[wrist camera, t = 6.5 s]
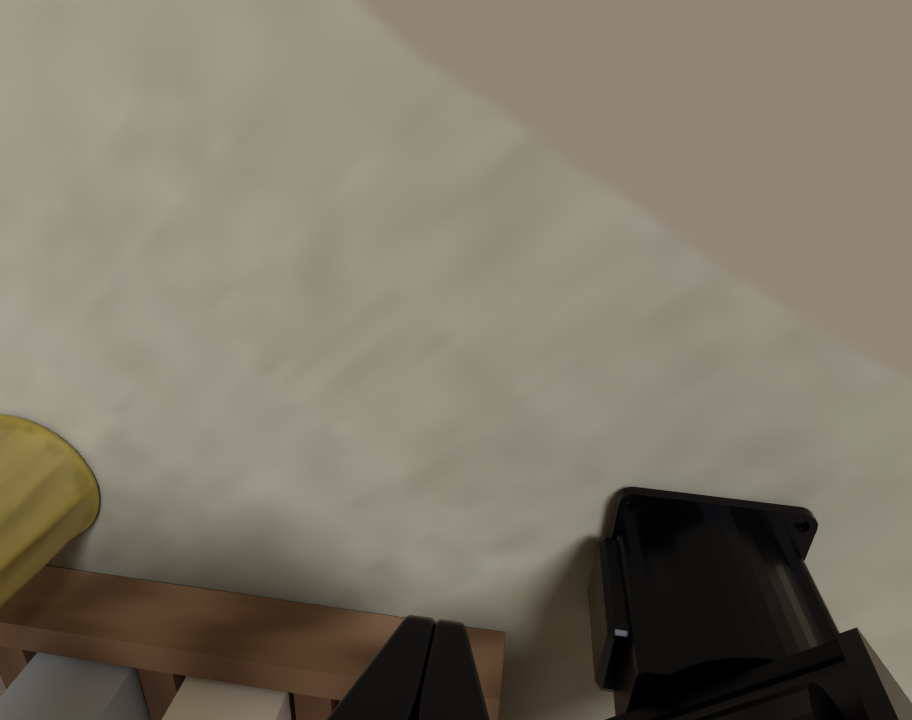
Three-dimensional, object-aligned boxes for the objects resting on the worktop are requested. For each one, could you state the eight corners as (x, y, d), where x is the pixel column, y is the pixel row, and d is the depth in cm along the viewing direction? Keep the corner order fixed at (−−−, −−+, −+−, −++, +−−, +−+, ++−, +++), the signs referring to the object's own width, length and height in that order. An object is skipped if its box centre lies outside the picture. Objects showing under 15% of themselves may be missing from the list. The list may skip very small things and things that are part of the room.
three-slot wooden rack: (505, 632, 26) (500, 700, 23) (490, 750, 29) (484, 820, 27) (31, 563, 28) (-24, 618, 25) (72, 682, 31) (28, 741, 29)
